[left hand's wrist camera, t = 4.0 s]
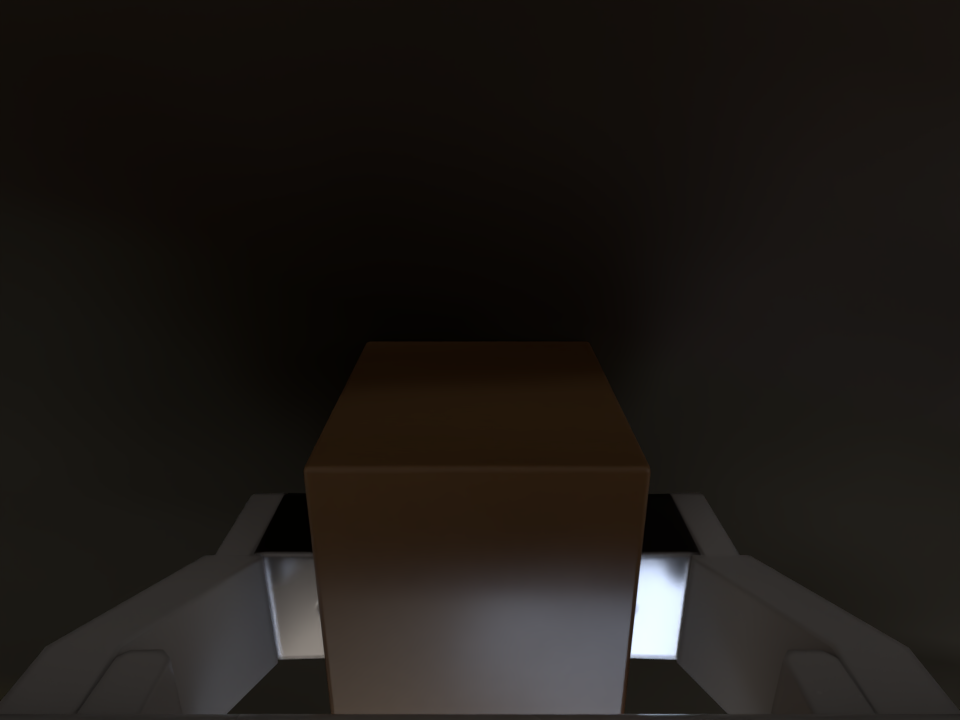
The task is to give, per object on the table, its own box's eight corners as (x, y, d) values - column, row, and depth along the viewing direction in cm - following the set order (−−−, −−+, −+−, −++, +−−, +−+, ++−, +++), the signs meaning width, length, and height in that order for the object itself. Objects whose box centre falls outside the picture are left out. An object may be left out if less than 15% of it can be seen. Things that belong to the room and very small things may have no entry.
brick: (366, 340, 11) (301, 468, 7) (589, 340, 11) (653, 468, 7) (380, 564, 13) (335, 772, 9) (575, 564, 13) (619, 771, 9)
